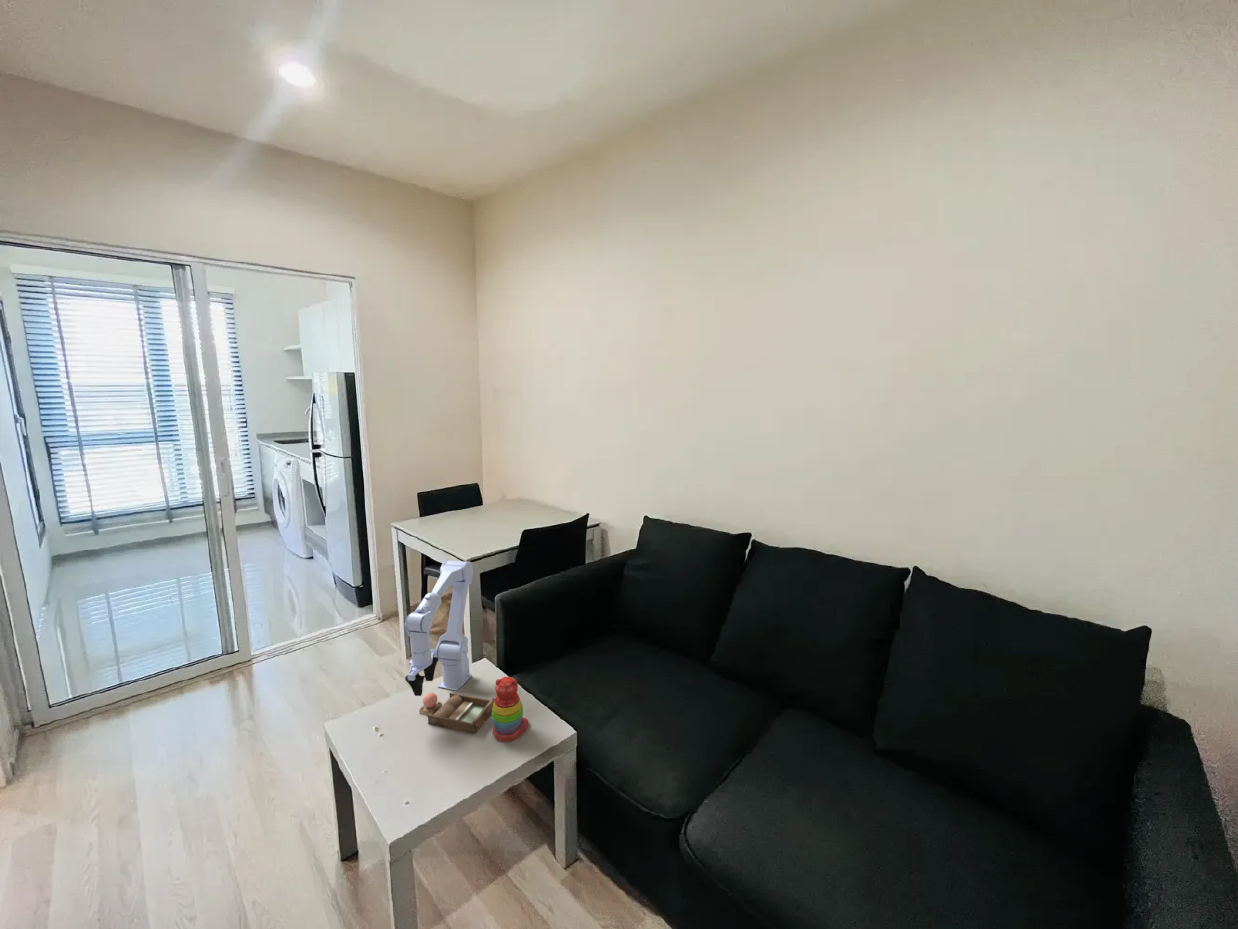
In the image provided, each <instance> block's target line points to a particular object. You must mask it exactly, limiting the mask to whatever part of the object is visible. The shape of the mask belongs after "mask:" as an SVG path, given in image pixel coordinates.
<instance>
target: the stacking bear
mask: <svg viewBox="0 0 1238 929" xmlns="http://www.w3.org/2000/svg"><path fill="white" fill-rule="evenodd" d="M518 689H519V683H518V680H517V679H515V678H514V677H511V676H504V677H502V678H498V679H496V680H495V695H496V696H495V697H494V698H495V700H494V703H493V708H492V714H491V721H492V723H493V724H492V735H493V737H494V738H495V740H497V741H499V742H504V743H505V742H512V741H515V740H516V739H518V738H520V737H521V736H523V734H524V733H525V732H526V731H527V729H528V726H529V725H530V724H529V719H527V717H524V716H523V715H524V707H523V703H522V700H521V697H520V695H519V693H518Z"/></svg>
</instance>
